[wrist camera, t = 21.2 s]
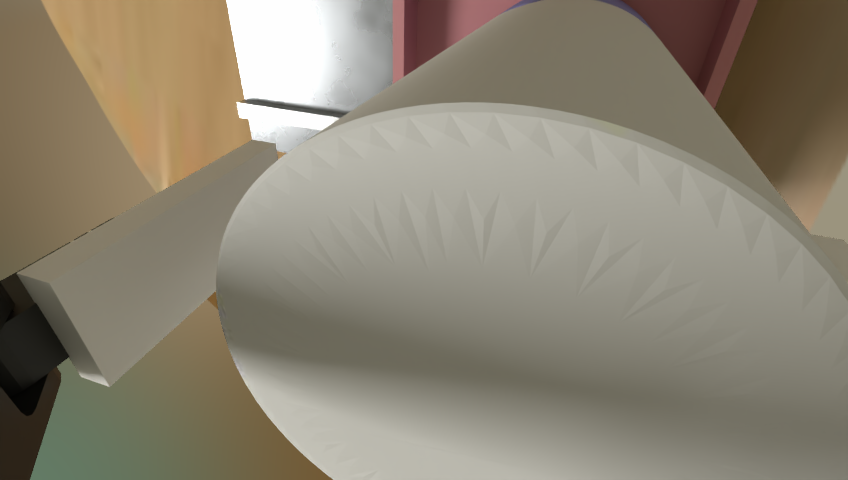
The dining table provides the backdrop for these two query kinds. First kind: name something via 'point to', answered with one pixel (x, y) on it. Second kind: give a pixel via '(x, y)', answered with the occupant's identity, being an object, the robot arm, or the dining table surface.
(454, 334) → the container
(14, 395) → the robot arm
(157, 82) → the dining table surface
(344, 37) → the track
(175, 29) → the dining table surface
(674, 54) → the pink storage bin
